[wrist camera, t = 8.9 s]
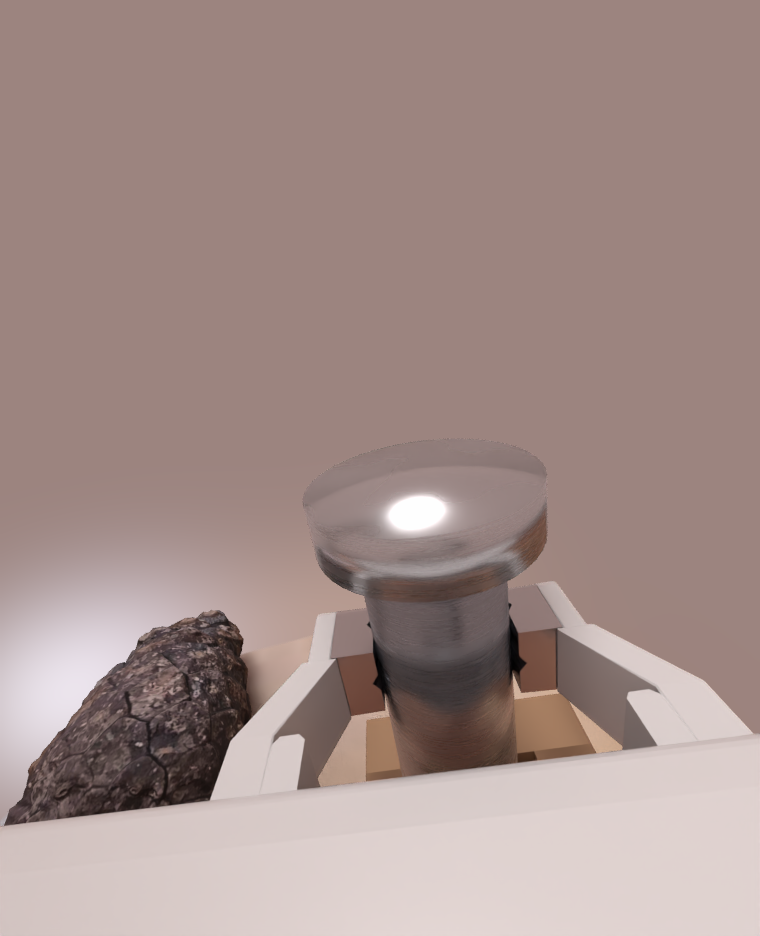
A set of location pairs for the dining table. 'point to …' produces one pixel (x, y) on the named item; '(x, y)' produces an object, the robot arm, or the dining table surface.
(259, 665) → the dining table surface
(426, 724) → the pin
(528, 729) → the socket block
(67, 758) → the pine cone
